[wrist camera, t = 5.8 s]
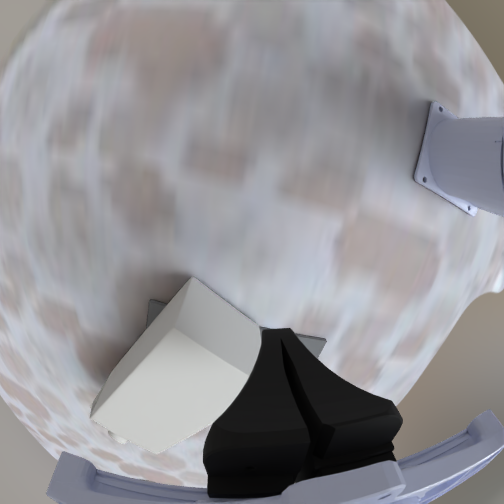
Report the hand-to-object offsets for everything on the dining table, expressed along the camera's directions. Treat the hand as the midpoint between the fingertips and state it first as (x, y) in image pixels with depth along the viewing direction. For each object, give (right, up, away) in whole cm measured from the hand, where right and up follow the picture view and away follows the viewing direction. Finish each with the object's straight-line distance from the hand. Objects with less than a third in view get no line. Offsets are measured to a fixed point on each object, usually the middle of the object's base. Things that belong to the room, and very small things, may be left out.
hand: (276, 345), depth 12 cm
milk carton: (-3, 0, +6) cm, 6 cm away
